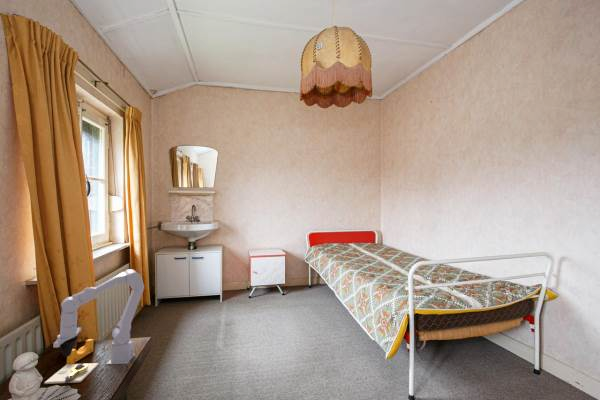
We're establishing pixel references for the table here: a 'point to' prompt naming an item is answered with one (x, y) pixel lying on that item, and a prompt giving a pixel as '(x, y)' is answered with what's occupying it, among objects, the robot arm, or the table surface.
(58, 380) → the board
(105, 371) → the table surface
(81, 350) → the pipe clamp
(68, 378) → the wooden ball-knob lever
